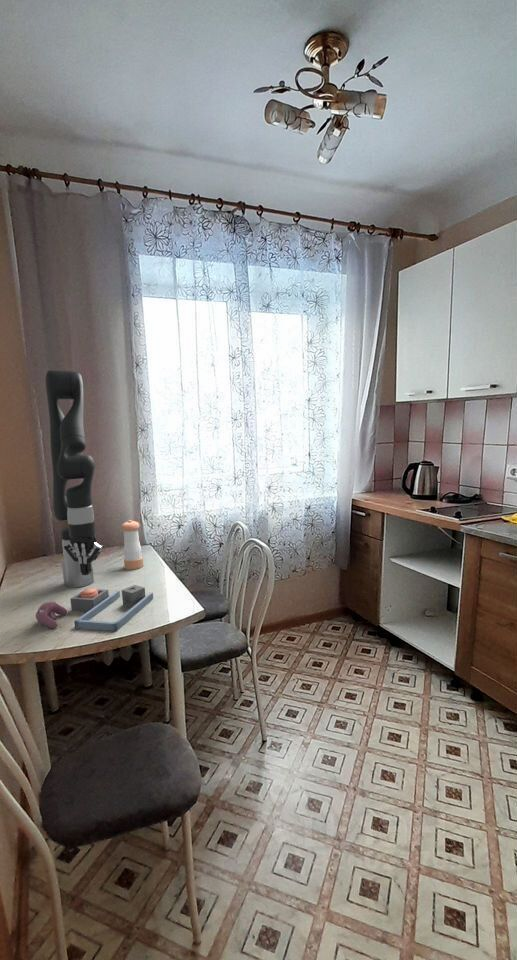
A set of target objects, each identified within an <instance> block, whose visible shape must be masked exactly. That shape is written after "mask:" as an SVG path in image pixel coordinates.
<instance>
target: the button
mask: <svg viewBox="0 0 517 960" xmlns="http://www.w3.org/2000/svg"><path fill="white" fill-rule="evenodd" d="M85 589H86V590H85ZM85 589H83V590H84V591H83V590H82V591H83V592H82V591H80V592H81V598H94V597H95V596H97V595H98V590H97V589H98V588H92V587H91V588H85Z"/></svg>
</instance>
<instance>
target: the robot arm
mask: <svg viewBox="0 0 517 960" xmlns="http://www.w3.org/2000/svg"><path fill="white" fill-rule="evenodd" d="M45 374H46V375H45V389H46V390H45V391H46V398H47V399H46V400H47V406H48V414H49V433H50V434H49V435H50V454H51V455H50V456H51V464H52V465H51V466H52V478H53V479H52V480H53V482H52V484H53V485H52V487H53V488H52V507H53V510H52V511H53V515H54V517H55V519H56V520H57V521H59V522H60V521H67V524H68V525H67V526H68V527H66V528H63V530H62V531H61V533H60V537H61V546H62V552H63V558H62V559H61V569H62V579H63V584H64V585H63V586H67V587H69V588H81V587H86V586H88V585H91V584H92V583H94V581H95V577H94V570H93V569H94V567H93V561H94V562H95V561H96V560H97V559H98V557H99V555H100V554H101V553H102V551H103V550H104V548H105V547H104V545H103V544H101V545H100V544H99V543H97V538H96V524H95V523H96V522H95V512H94V508H93V500H92V485H93V479H94V476H95V475H94V474H95V469H96V463H95V460H94V458H93V457H92V456H91V455H89V454H81V453H82V452H84V451H86V447H87V445H86V444H87V443H86V435H85V429H84V406H85V405H84V404H85V403H84V401H85V400H84V383H83V377H82V375H81V373H80V372H78V371H73V370H51V369H50V370H47V371H46V373H45ZM59 400H73V402H72V405H71V407H70V409H69V410H68V412H67V413H66V415H65V414H64V413H63V411H62V409H61V408H60V404H59ZM79 479H80V480H81V479H83V480H82V482H81V483H80V484H77V485H74V486H71V487H68V488H67V484H68V482H69V480H79Z"/></svg>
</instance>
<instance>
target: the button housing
mask: <svg viewBox="0 0 517 960" xmlns="http://www.w3.org/2000/svg"><path fill="white" fill-rule="evenodd" d="M86 589H87V588H84V589H83V590H82V591H80V592H79V593H77V594H75V595H73V596H72V597H70V609H71V611H72V612H80V613H81V612H83V613H87V612H88V611H89V610H91V609H92V608H94V607H95V606H96V605H98V604H99V603H101V602H102V601H103V600H105V599H106V598H108V597H109V596H110V594H109V593H110V592H109V589H98V588H96V589H97V590H98V595H97V596H95V597H94V598H81V592H83V591H84V590H86Z"/></svg>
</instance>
